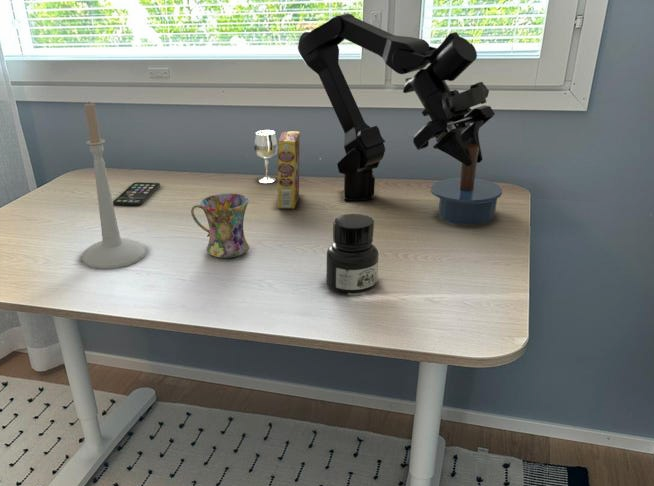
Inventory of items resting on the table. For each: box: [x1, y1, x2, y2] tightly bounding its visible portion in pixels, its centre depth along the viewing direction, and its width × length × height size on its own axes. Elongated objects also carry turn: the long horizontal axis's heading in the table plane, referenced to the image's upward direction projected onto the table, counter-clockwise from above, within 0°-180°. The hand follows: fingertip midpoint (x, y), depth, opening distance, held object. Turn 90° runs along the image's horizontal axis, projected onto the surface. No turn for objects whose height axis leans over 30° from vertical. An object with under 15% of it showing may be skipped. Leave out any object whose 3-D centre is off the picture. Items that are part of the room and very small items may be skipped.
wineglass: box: [253, 129, 278, 184], centre depth 172 cm, size 6×6×12 cm
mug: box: [190, 192, 250, 259], centre depth 135 cm, size 12×9×11 cm
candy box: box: [277, 130, 301, 210], centre depth 156 cm, size 9×4×15 cm, turn 169°
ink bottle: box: [325, 213, 379, 295], centre depth 119 cm, size 10×9×12 cm
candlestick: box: [81, 101, 146, 270], centre depth 131 cm, size 13×13×30 cm
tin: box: [437, 198, 498, 226], centre depth 145 cm, size 11×12×5 cm
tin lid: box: [430, 144, 503, 203], centre depth 136 cm, size 14×14×10 cm
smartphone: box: [112, 181, 161, 206], centre depth 170 cm, size 7×1×15 cm
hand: (475, 163), depth 134 cm, fingers closed on tin lid, 3 cm apart
